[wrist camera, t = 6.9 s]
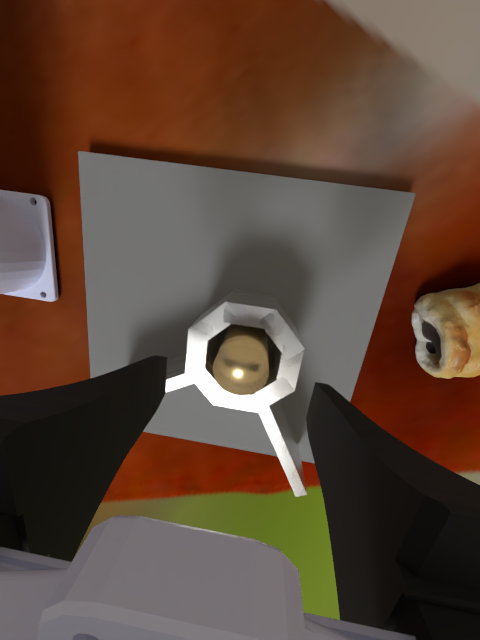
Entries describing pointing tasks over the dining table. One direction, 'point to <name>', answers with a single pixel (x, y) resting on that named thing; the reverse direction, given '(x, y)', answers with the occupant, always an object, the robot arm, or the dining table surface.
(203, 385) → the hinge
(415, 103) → the dining table surface
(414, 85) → the dining table surface
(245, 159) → the dining table surface
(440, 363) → the pastry
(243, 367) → the pin
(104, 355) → the mat
